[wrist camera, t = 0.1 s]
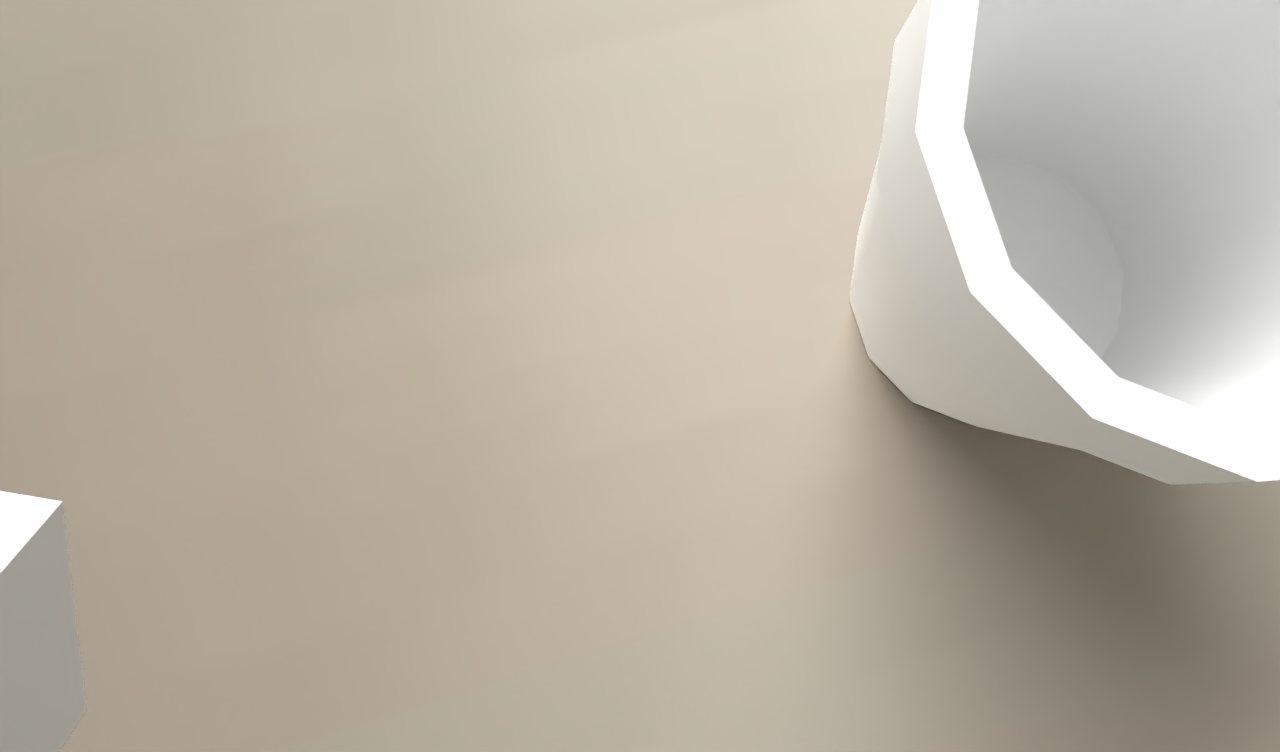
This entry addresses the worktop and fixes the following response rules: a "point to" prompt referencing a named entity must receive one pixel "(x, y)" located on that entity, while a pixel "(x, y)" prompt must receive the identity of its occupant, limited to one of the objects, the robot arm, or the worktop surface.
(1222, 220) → the foam cup
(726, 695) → the worktop surface
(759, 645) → the worktop surface
